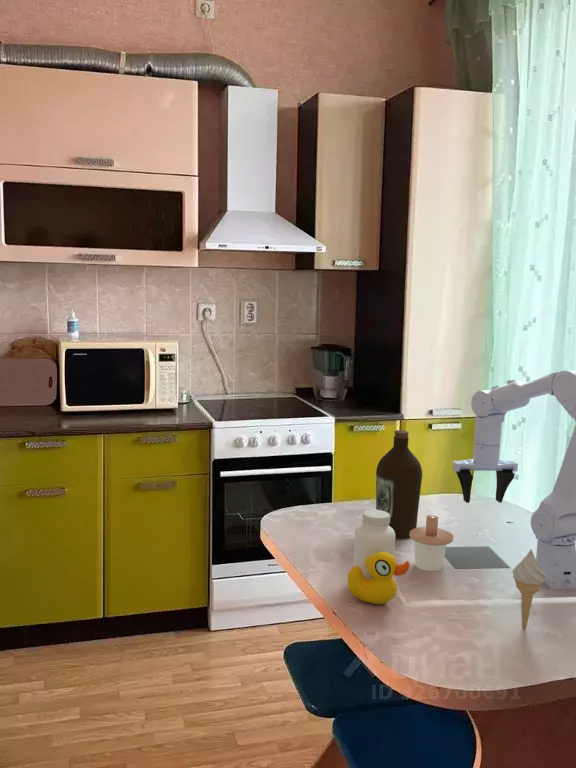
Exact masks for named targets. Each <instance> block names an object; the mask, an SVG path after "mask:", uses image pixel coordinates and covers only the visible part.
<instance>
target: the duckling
mask: <svg viewBox="0 0 576 768" xmlns="http://www.w3.org/2000/svg"><path fill="white" fill-rule="evenodd" d="M397 563H398V562H397V559H396V557H395V555H394V556H393V555H391V554H390V553H388V552H384V551H381V552H377V553H375V554H373V555H371V556H369V557H367V558H366V559H365V565H366V567H367V568H368V571H369V573H370V574H371V575H372V576H373V577H374V578H373V579H367V578H365V577H364V576H363V573H362V570H361V568H360V567H358V566H354V567H353V566H352V568H351V569H350V570H349V571H348V574H347V587H348V591H349V592H350V593H351V594H352V595H353V596H354V597H355V598H357V599H359V600H360V601H362V602H364V603H368V604H373V605H384V604H386V603H388V602H390V601H392V599H394V597H395V596H396V594H397V591H398V584H397V582H396V580H395V579H394V576H397V577H401V576H403V575H406V573H407V572H408V570H409V568H410V562H409V561H408V560H406V561H405V562H404V563H402V564H401V563H400V564H399V563H398V564H397ZM392 576H393V578H392Z"/></svg>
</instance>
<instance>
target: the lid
mask: <svg viewBox="0 0 576 768" xmlns="http://www.w3.org/2000/svg"><path fill="white" fill-rule="evenodd" d="M425 524H426V525H425V526H421V527H419V526H418V527H417V528H414V529H412V530H411V531H410V533H409V536H410V538H409V539H411V540H412V541H416V542H419V543H422V544H427V545H446V544H447V545H449V544H452V542H454V535H453V533H451V532H450V531H449V530H446V529H442V528H438V527H439V525H438V524H439V517H438V516H437V515H434V514H433V515H432V514H428V515H426V522H425ZM447 545H446V546H447Z"/></svg>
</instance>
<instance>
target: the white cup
mask: <svg viewBox="0 0 576 768" xmlns="http://www.w3.org/2000/svg"><path fill="white" fill-rule="evenodd" d="M413 541H414V540H413ZM413 544H414V565H415V567H416V568H417V569H420V570H423V571H427V572H436V571H440V570H442V569H443V567H444V562H445V558H446V557H445V551H446V547H447V545H448V544H446V545H427V544H422V543H419V542H416V541H414V543H413Z"/></svg>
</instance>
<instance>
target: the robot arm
mask: <svg viewBox="0 0 576 768" xmlns="http://www.w3.org/2000/svg"><path fill="white" fill-rule="evenodd" d="M545 395H550V396H554V397H555V399H556V400H557V402H558V403H559V404H560V405H561V406H562V408H563V409H564V410H565V412H567V414H568V415H569V416H570V418H572V419H573V420H574V421H575V423H576V370H565V369H564V370H560V371H555V372H551V373H548V374H546V375H543V376H541V377H538V378H535V379H533V380H531V381H529V382H526V383H525V382H523V381H521V380H516V379H509V380H506V384H502V385H500V386H499V385H493V386H492V387H491V389H490V390H483V389H481V390H480V389H479V390H477V391H476V392H475V393H474V394H473V395H472V398H471V402H470V403H471V410H472V412H473V413H474V415H475V423H474V424H475V425H474V436H473V437H474V440H473V451H472V452H473V453H472V454H473V455H472V459H471V458H470V459H464V460H453V462H452V470H453V471H454V472H455V473H456V476H457V478H458V479H459V480H458V481H459V483H460V486H461V490H462V491H461V492H462V497H463V501H464V502H465V503H467V504H469V503H470V502H471V492H472V491H471V490H472V483H473V479H474V475H472V472H471V471H473V472H475V471H476V472H479V471H481V472H482V471H484V472H485V471H486V472H489V471H490V472H491V471H493V472H494V471H495V475H496V488H495V500H496V502H498V503H501V504H502V503H503V500H504V497H505V494H506V492H507V489H509V486H510V484H511V483H512V482H513V480H514V479H515V475H516V474H515V472H518V467H519V463H518V462H517V461H516V460H505V459H503V460H500V453H501V440H502V439H501V438H502V426H503V423H504V421H505V418H506V417H505V416H506V414H507V413H508V412H510V411H514V410H518V409H520V408H524V407H526V406H527V405H529V403H530V401H531V399H533V398H536V397H537V398H538V397H541V396H545ZM530 528H531V530H532V532H533V534H534V535H535V539H537V542H536V543H537V544H536V552H535V553H536V555H535V559H536V560H537V562H538V563H539V565H540V566H541V570H542V571H543V572H544V573H545V575H546V577H544V583H543V584H545V585H546V586H547V587H548V588H550V589H551V590H565V589H566V590H568V589H569V590H572V589H573V590H575V589H576V424H575V426H574V428H573V432H572V434H571V437H570V440H569V442H568V445H567V448H566V451H565V453H564V457H563V460H562V463H561V465H560V468H559V472H558V475H557V478H556V481H555V484H554V486H553V489H552V491H551V492H550V493H549V494H548V495H547V496H546V497H545V498H543V500H541V501H540V503H539V506H538V508H537V509H536V510H535V511H534V512H533V513H532V514H531V518H530Z"/></svg>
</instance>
